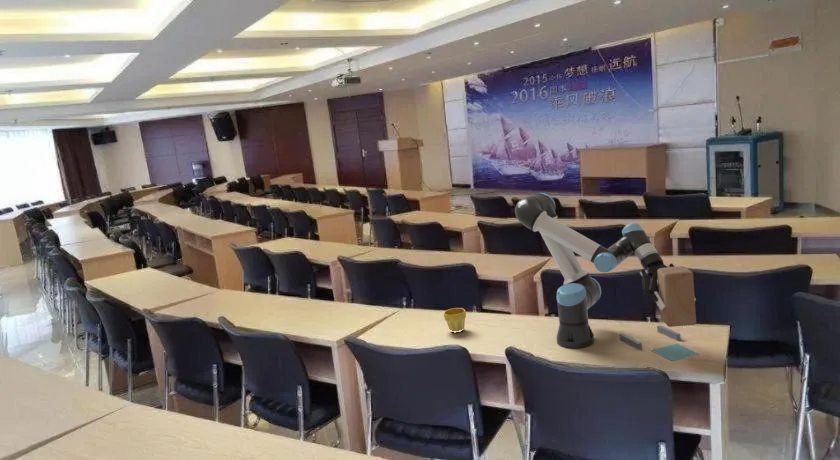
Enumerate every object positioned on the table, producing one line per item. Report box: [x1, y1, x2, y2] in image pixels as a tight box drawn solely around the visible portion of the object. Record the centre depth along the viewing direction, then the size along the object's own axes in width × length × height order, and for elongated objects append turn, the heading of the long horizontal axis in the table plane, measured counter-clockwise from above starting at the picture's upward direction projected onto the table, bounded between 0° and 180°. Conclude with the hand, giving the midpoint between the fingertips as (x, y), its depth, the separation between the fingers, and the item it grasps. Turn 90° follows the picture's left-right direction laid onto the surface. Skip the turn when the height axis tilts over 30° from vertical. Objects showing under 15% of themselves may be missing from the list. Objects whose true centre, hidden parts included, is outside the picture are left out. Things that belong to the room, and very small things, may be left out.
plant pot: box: [443, 307, 467, 331], centre depth 261 cm, size 10×10×10 cm
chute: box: [619, 324, 682, 351], centre depth 222 cm, size 12×19×2 cm, turn 104°
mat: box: [650, 343, 700, 362], centre depth 208 cm, size 12×12×1 cm
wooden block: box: [657, 265, 697, 328], centre depth 203 cm, size 10×10×20 cm
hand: (678, 305), depth 202 cm, fingers closed on wooden block, 12 cm apart
